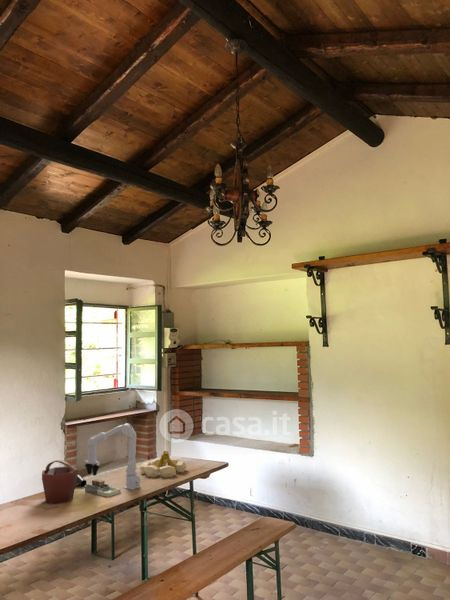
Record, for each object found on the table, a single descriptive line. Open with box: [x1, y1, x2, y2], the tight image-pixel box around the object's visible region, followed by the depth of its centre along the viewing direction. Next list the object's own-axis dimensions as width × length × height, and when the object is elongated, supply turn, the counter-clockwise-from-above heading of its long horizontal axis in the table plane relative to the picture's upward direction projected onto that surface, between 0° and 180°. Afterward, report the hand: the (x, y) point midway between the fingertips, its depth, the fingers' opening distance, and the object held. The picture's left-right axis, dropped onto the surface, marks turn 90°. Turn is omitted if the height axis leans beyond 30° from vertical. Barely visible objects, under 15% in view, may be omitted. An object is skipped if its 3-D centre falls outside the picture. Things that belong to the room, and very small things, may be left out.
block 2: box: [96, 479, 106, 488], centre depth 322 cm, size 4×4×4 cm
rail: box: [84, 482, 110, 495], centre depth 323 cm, size 14×10×4 cm
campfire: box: [139, 450, 188, 478], centre depth 369 cm, size 35×34×17 cm
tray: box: [96, 486, 121, 498], centre depth 316 cm, size 11×11×2 cm
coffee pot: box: [75, 474, 87, 488], centre depth 333 cm, size 8×18×8 cm
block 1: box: [91, 478, 100, 485], centre depth 324 cm, size 4×4×4 cm
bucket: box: [41, 459, 79, 505], centre depth 306 cm, size 24×22×25 cm
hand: (92, 474), depth 328 cm, fingers open, 5 cm apart
